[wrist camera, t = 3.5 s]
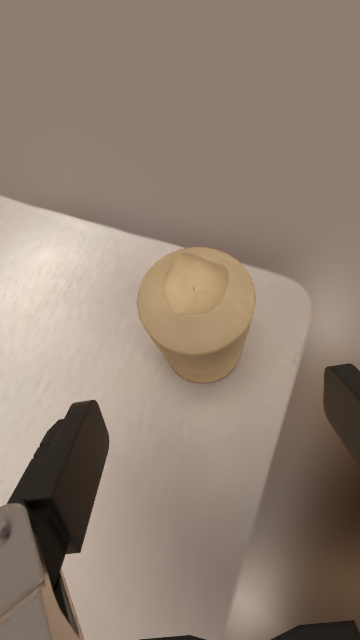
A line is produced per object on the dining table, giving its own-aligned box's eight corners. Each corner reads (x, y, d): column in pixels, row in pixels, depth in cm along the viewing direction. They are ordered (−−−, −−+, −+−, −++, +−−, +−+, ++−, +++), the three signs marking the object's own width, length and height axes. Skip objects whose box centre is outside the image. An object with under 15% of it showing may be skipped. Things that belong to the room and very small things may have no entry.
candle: (158, 324, 22) (116, 248, 13) (225, 303, 22) (232, 212, 13) (177, 394, 20) (144, 362, 11) (252, 370, 20) (282, 319, 11)
